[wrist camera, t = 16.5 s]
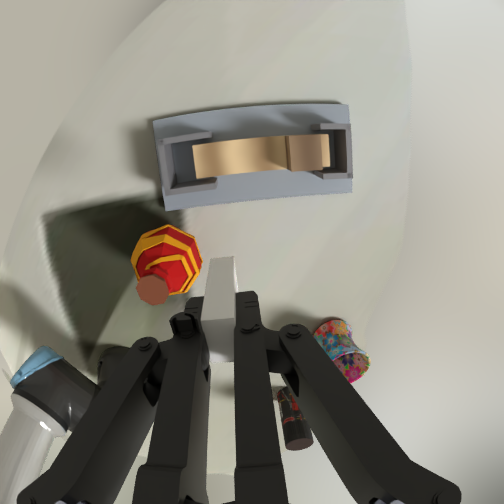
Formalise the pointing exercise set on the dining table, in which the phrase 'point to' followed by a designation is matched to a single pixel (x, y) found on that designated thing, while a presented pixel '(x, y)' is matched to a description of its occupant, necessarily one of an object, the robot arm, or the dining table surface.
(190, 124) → the grey slat holder base
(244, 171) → the tan stepped wooden block
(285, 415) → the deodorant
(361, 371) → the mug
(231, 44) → the dining table surface
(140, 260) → the potion bottle
